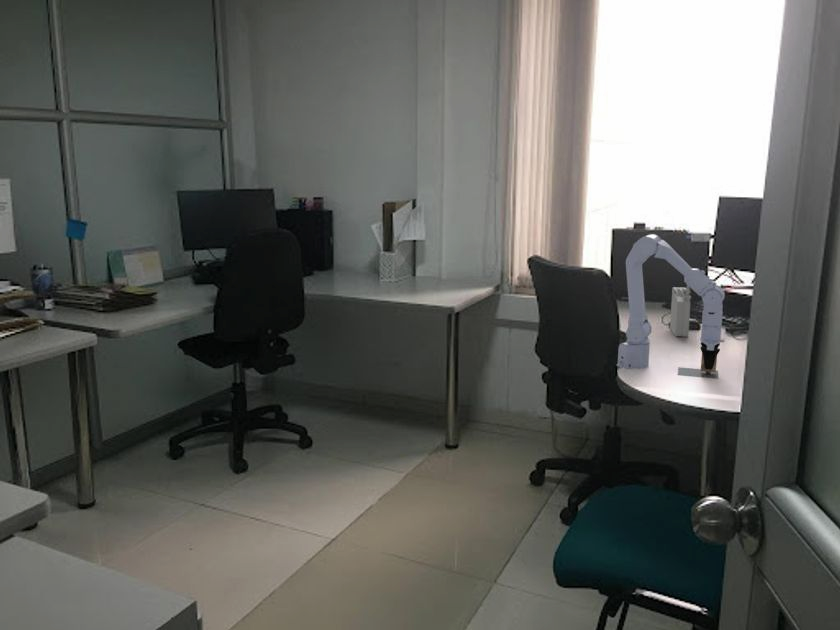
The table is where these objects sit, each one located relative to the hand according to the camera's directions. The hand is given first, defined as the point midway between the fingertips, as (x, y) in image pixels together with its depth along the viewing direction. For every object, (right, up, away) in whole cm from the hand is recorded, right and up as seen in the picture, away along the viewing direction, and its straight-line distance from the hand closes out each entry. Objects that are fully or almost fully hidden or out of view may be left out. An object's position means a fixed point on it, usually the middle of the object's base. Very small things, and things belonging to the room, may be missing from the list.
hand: (708, 366), depth 225 cm
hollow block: (0, -1, 0) cm, 1 cm away
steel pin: (0, -3, +1) cm, 3 cm away
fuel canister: (+11, +9, +55) cm, 56 cm away
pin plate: (-3, -3, +2) cm, 4 cm away
